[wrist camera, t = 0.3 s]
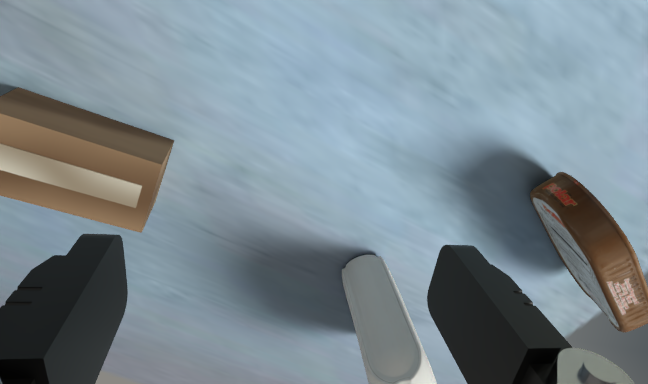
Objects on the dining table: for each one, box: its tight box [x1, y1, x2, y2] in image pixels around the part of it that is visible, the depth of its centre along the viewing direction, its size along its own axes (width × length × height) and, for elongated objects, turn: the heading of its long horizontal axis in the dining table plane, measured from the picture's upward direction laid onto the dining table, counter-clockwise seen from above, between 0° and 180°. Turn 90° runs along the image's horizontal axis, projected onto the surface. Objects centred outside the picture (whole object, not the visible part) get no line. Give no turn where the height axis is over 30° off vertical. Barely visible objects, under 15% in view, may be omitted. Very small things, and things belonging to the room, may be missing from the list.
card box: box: [0, 87, 174, 232], centre depth 24 cm, size 5×9×4 cm, turn 65°
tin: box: [530, 172, 648, 332], centre depth 31 cm, size 15×3×8 cm, turn 36°
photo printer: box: [342, 255, 437, 384], centre depth 30 cm, size 10×4×12 cm, turn 18°
